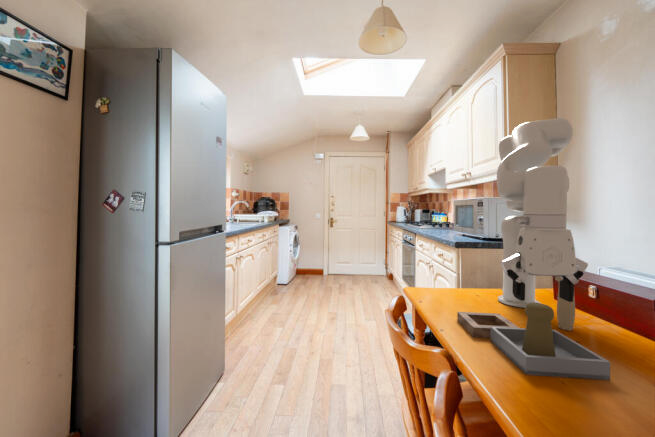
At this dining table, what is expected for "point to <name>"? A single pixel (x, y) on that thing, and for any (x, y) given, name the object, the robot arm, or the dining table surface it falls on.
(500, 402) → the dining table surface
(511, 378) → the dining table surface
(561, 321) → the handle
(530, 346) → the cork
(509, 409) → the dining table surface
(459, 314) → the socket block
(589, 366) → the tray
